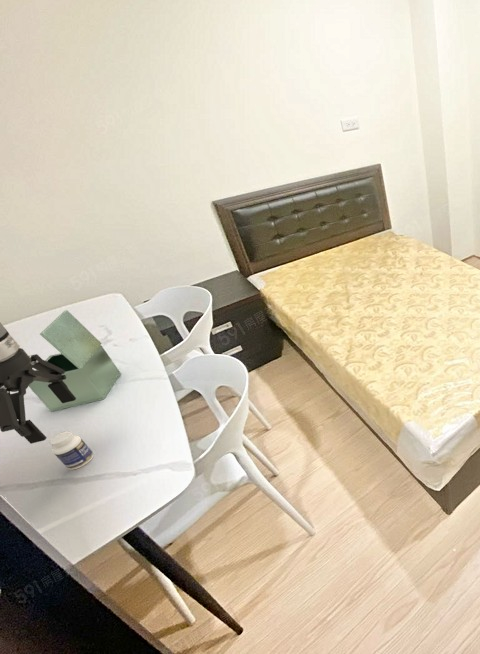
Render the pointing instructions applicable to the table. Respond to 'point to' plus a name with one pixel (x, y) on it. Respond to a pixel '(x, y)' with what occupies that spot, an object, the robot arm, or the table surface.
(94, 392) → the open box
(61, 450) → the pill bottle
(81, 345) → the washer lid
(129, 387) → the table surface
